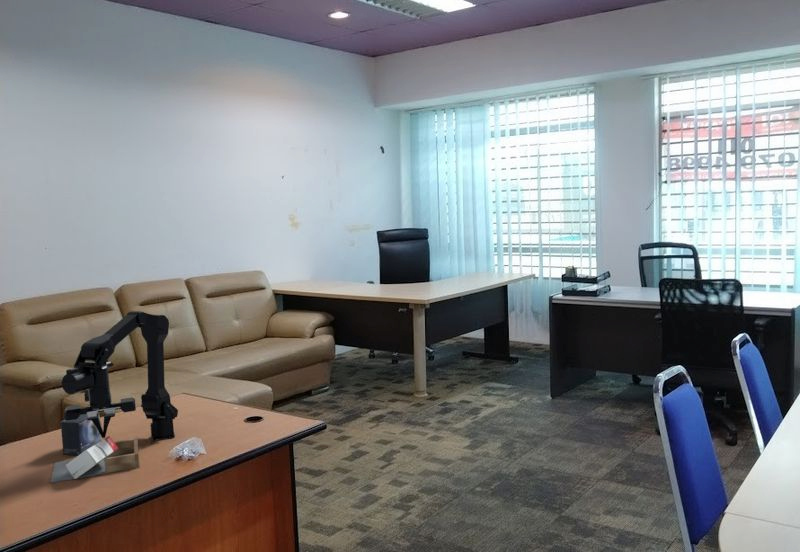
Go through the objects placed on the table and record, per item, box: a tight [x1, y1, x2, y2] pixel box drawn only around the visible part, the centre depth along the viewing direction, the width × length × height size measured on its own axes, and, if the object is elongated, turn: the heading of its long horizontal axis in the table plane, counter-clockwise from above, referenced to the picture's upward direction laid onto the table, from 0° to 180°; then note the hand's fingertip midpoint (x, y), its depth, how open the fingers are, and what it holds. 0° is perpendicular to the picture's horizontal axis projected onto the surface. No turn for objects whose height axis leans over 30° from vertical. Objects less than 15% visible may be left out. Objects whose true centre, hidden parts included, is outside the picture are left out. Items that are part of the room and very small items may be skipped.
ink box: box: [65, 435, 118, 480], centre depth 201 cm, size 9×5×12 cm
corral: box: [104, 437, 140, 474], centre depth 209 cm, size 9×15×4 cm, turn 21°
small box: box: [60, 414, 101, 456], centre depth 221 cm, size 11×6×10 cm, turn 168°
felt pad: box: [49, 459, 107, 484], centre depth 205 cm, size 14×16×1 cm
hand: (103, 437), depth 206 cm, fingers closed
